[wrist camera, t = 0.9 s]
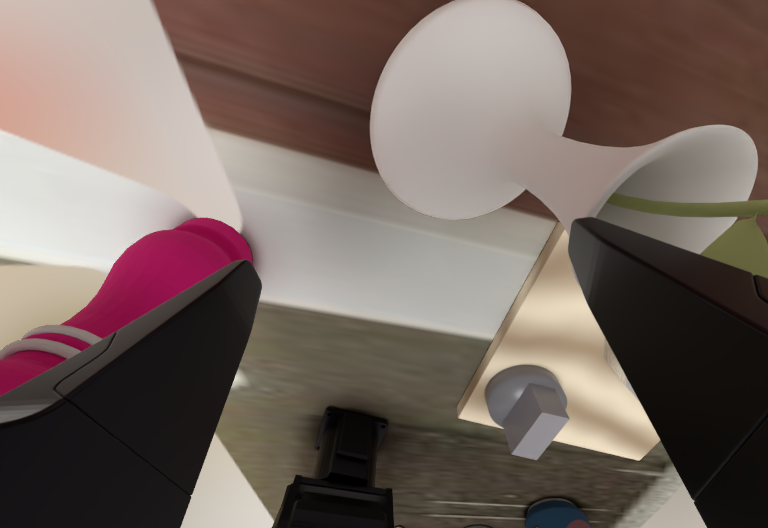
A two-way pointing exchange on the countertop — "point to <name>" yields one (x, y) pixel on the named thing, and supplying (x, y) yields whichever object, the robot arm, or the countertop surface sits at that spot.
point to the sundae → (477, 526)
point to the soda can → (555, 515)
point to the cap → (527, 408)
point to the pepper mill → (127, 294)
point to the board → (564, 360)
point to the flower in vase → (546, 140)
